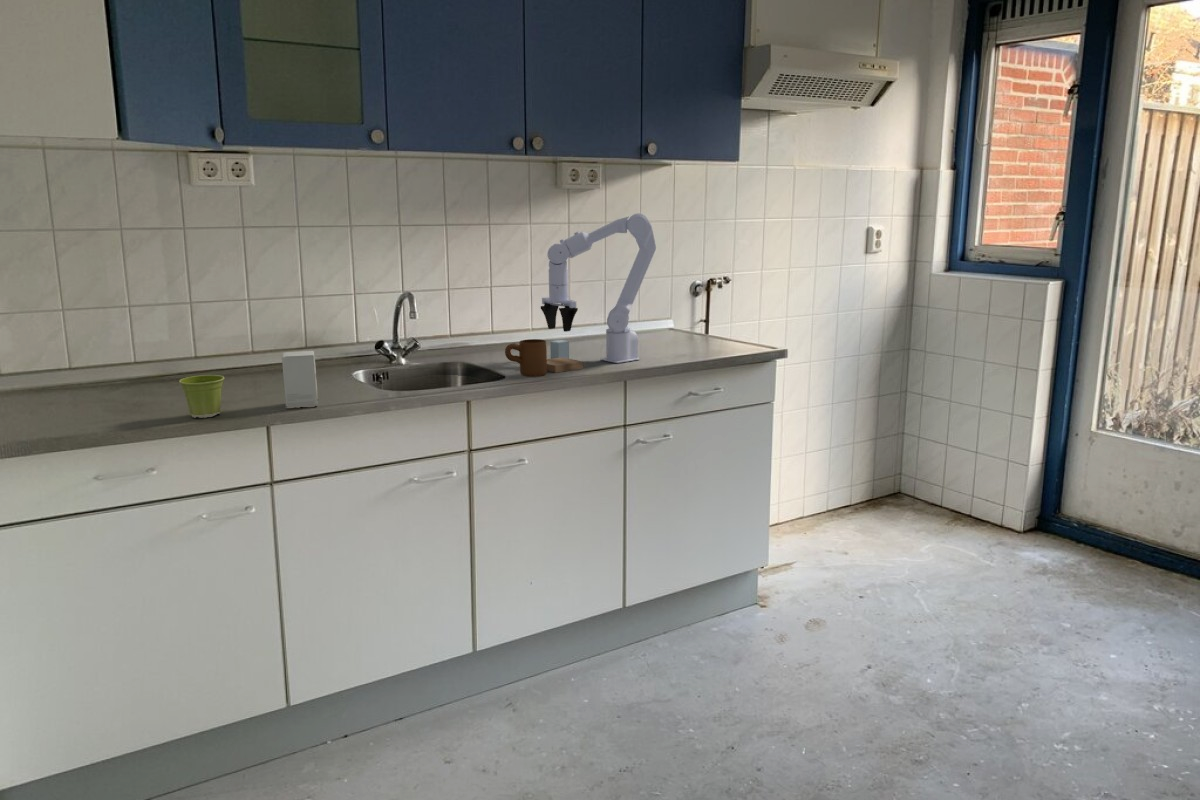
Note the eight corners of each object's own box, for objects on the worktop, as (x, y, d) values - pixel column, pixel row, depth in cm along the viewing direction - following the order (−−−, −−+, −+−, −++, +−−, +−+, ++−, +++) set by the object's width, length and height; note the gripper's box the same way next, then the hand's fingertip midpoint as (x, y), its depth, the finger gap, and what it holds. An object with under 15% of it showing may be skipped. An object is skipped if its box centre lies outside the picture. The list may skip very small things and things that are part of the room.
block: (561, 359, 274) (560, 339, 273) (569, 360, 271) (568, 341, 270) (550, 360, 272) (550, 341, 271) (558, 362, 269) (558, 342, 268)
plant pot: (232, 416, 203) (228, 379, 202) (188, 423, 198) (183, 384, 196) (222, 409, 211) (218, 373, 209) (179, 415, 206) (175, 378, 204)
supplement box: (318, 407, 212) (314, 354, 209) (285, 409, 210) (280, 356, 207) (318, 401, 219) (314, 350, 216) (286, 403, 217) (282, 351, 214)
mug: (510, 379, 244) (509, 345, 242) (501, 374, 250) (500, 341, 248) (551, 375, 249) (550, 341, 247) (540, 370, 255) (539, 338, 253)
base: (562, 363, 266) (562, 357, 266) (583, 368, 258) (583, 361, 258) (534, 368, 260) (534, 361, 259) (555, 372, 252) (555, 365, 252)
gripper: (533, 283, 270) (534, 328, 272) (562, 287, 259) (563, 333, 262) (552, 282, 274) (553, 326, 277) (581, 285, 263) (582, 331, 266)
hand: (559, 329), depth 270 cm, fingers open, 7 cm apart
